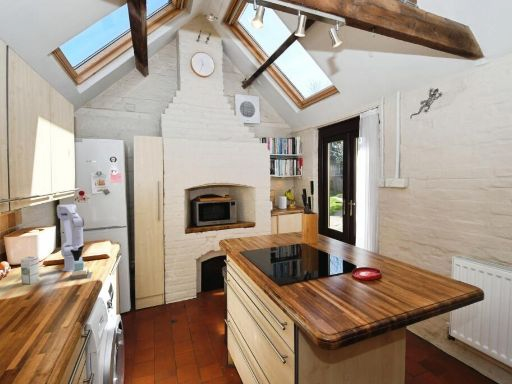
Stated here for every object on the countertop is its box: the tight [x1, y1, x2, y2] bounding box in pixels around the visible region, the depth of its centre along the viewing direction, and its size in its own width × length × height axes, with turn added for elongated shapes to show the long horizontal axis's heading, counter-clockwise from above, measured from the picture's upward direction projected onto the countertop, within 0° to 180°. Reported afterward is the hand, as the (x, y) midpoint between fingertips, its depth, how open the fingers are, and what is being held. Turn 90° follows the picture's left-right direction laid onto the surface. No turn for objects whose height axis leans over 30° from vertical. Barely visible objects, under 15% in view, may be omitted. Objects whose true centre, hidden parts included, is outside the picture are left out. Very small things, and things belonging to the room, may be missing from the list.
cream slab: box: [71, 266, 89, 276], centre depth 158 cm, size 7×7×2 cm
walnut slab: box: [70, 269, 90, 280], centre depth 158 cm, size 8×8×2 cm
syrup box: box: [20, 256, 40, 285], centre depth 149 cm, size 6×6×14 cm
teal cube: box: [74, 260, 85, 271], centre depth 158 cm, size 4×4×4 cm
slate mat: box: [66, 271, 94, 283], centre depth 159 cm, size 12×12×1 cm
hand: (77, 259), depth 161 cm, fingers open, 7 cm apart
